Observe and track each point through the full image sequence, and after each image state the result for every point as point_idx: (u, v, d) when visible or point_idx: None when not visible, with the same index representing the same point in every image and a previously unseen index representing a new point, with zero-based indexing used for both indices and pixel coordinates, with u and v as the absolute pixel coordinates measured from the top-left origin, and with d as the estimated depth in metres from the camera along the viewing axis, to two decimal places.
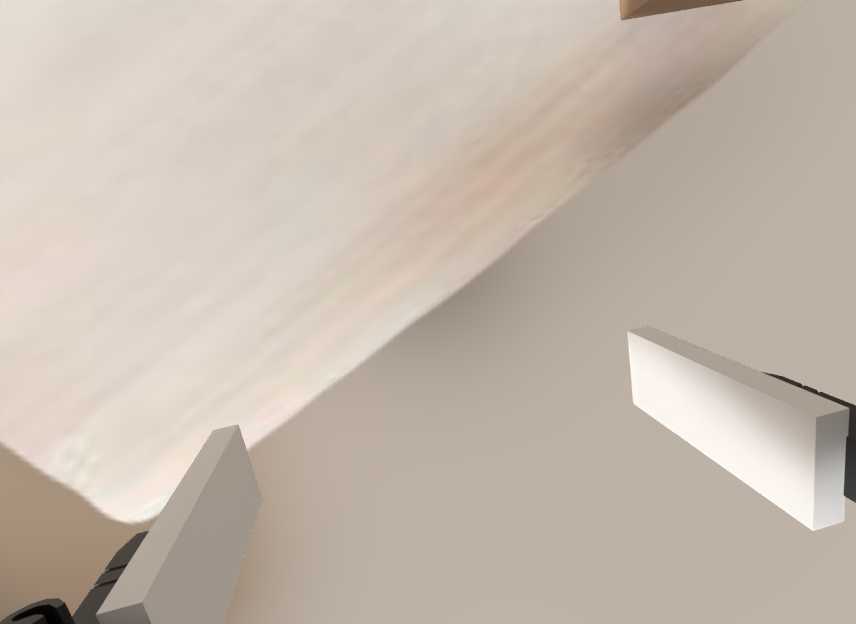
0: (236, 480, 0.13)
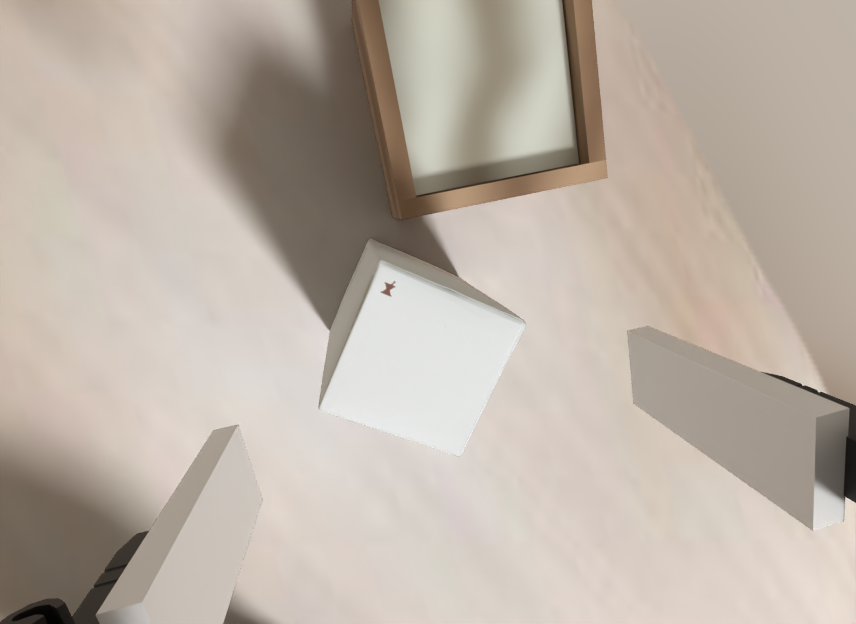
0: (236, 480, 0.13)
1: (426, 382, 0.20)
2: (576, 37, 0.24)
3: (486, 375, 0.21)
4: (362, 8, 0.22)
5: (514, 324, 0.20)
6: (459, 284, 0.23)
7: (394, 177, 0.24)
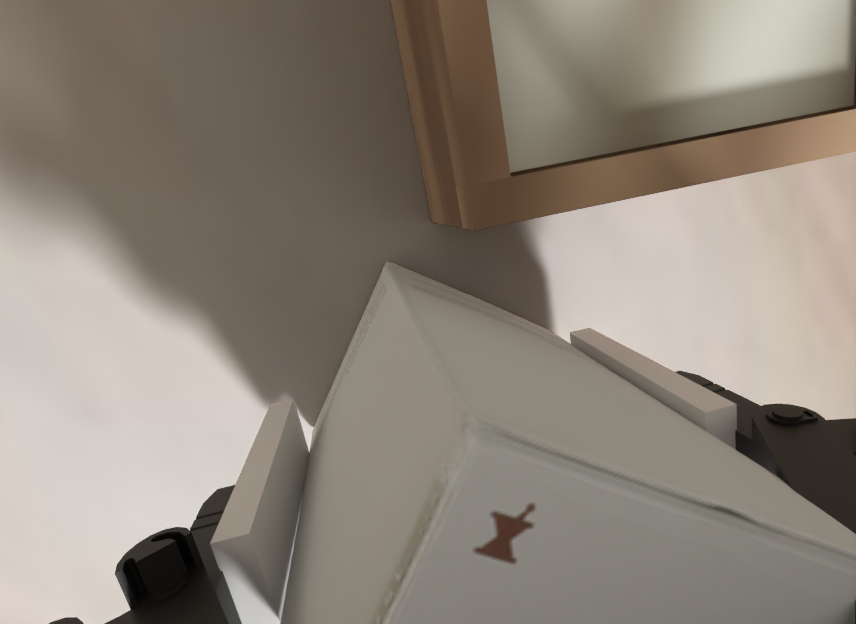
0: (296, 447, 0.14)
1: None
2: None
3: None
4: None
5: None
6: (640, 405, 0.09)
7: (460, 126, 0.10)
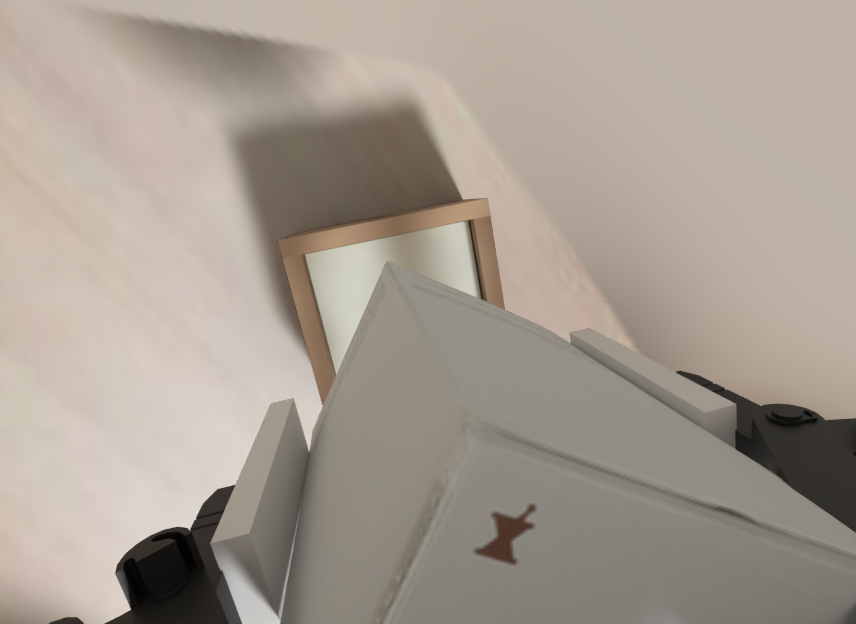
0: (296, 447, 0.14)
1: None
2: (483, 277, 0.27)
3: None
4: (288, 271, 0.25)
5: None
6: (640, 405, 0.09)
7: (322, 401, 0.27)
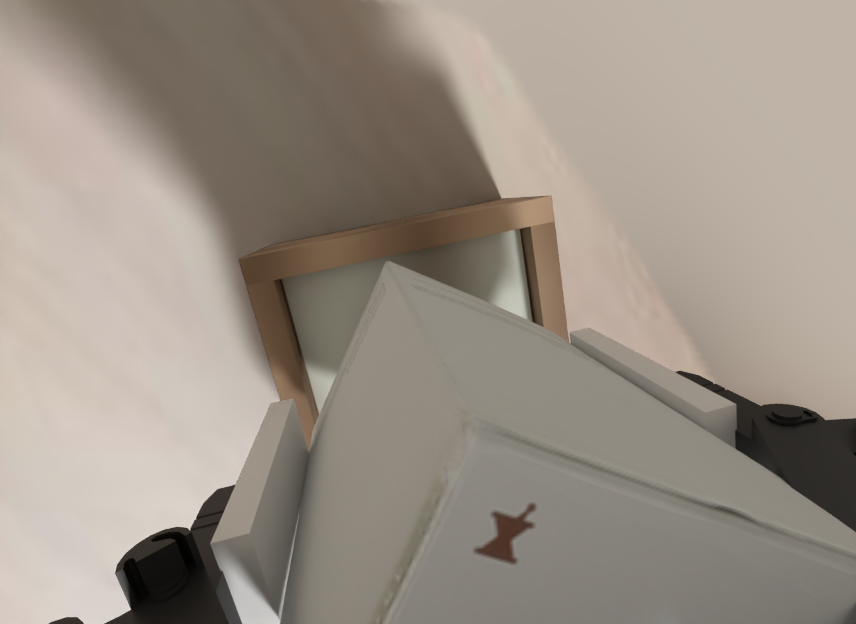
0: (296, 447, 0.14)
1: None
2: (541, 311, 0.19)
3: None
4: (256, 304, 0.17)
5: None
6: (640, 405, 0.09)
7: None
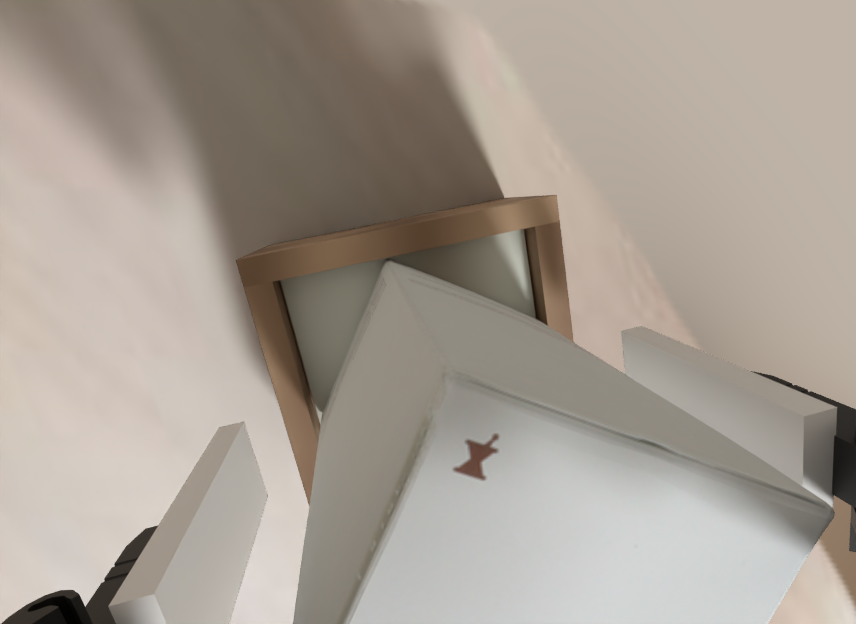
0: (242, 476, 0.13)
1: None
2: (545, 313, 0.18)
3: None
4: (253, 307, 0.16)
5: (809, 518, 0.07)
6: (603, 375, 0.10)
7: (307, 495, 0.18)
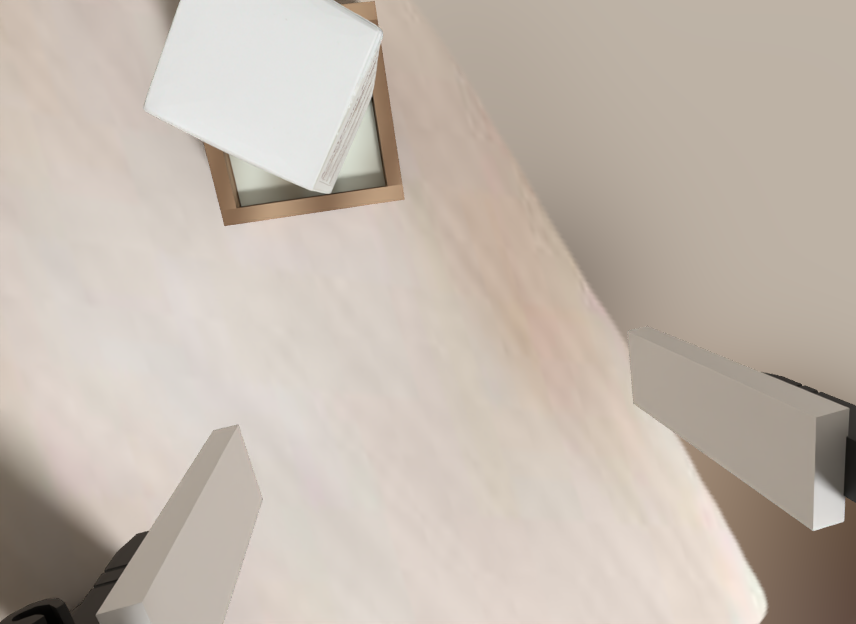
0: (236, 480, 0.13)
1: (266, 88, 0.18)
2: None
3: (337, 89, 0.19)
4: None
5: (368, 30, 0.18)
6: None
7: (216, 191, 0.29)
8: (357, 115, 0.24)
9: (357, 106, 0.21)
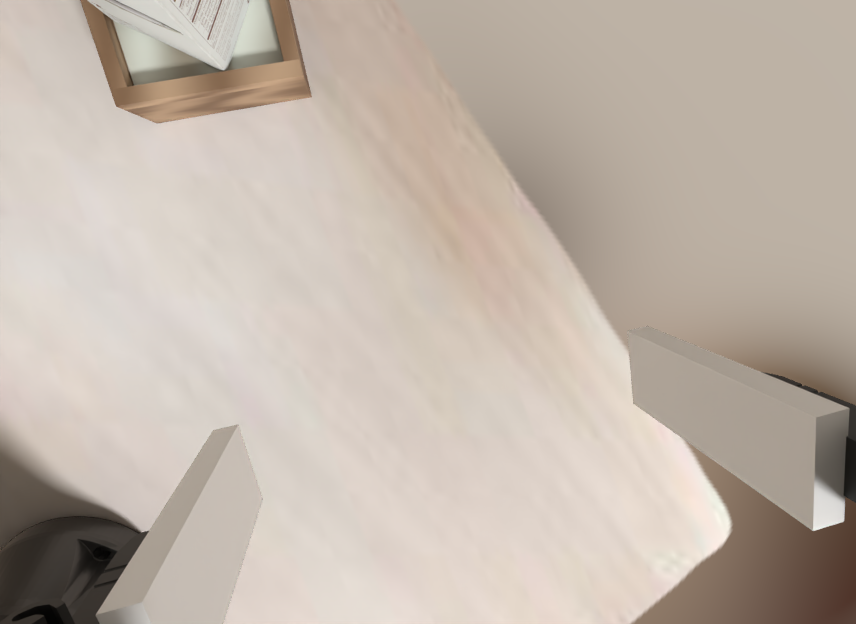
0: (236, 480, 0.13)
1: None
2: None
3: None
4: None
5: None
6: None
7: (104, 68, 0.29)
8: None
9: None
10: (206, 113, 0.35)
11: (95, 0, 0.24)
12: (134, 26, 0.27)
